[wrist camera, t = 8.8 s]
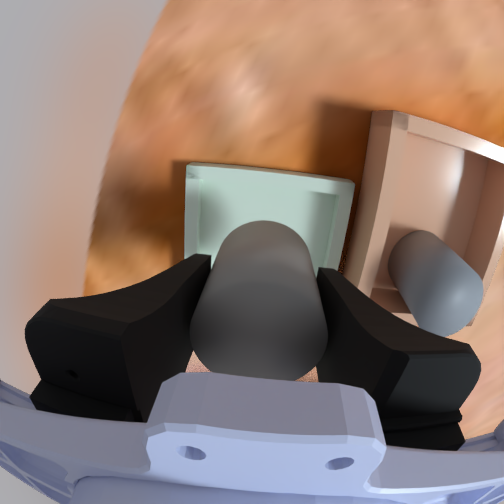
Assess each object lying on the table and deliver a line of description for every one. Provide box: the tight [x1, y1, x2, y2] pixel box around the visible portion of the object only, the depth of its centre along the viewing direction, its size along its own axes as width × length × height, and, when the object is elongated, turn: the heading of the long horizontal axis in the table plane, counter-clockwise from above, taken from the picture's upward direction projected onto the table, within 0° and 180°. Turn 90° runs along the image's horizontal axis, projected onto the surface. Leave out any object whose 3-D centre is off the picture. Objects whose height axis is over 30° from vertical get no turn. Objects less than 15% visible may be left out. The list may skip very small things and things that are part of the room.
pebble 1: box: [189, 220, 328, 381], centre depth 11 cm, size 4×4×5 cm
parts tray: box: [184, 162, 355, 277], centre depth 18 cm, size 12×9×1 cm
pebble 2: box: [388, 230, 483, 337], centre depth 15 cm, size 4×4×5 cm
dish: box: [342, 110, 504, 326], centre depth 15 cm, size 11×9×3 cm
